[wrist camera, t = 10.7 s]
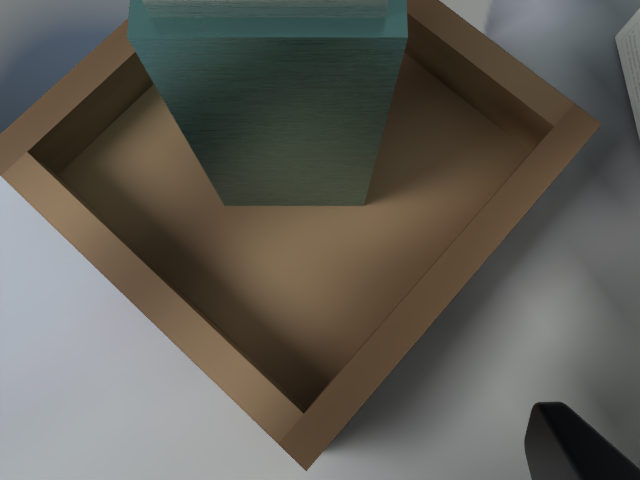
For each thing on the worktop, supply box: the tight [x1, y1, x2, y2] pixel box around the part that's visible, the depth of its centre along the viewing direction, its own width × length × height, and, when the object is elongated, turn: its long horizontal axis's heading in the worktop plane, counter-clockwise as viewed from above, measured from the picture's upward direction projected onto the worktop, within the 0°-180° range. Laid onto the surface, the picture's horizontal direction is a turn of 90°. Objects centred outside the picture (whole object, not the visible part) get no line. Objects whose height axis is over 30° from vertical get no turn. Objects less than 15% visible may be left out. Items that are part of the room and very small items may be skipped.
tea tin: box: [127, 0, 408, 206], centre depth 14 cm, size 4×4×10 cm
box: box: [0, 0, 601, 471], centre depth 18 cm, size 13×13×3 cm
